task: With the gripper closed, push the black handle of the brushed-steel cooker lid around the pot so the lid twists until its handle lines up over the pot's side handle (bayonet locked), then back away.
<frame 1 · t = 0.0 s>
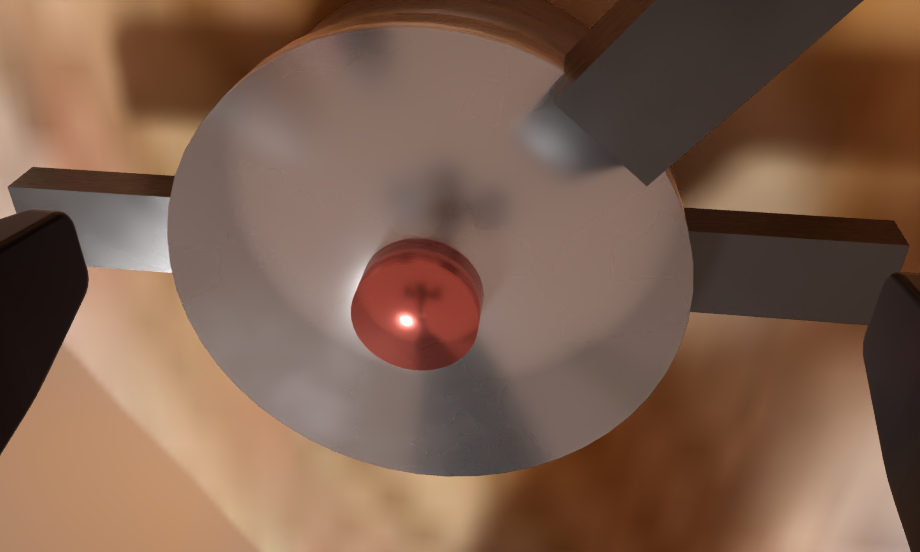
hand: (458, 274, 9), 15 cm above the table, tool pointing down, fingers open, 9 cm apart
lid: (544, 176, 18), point 6 cm above the table, hinge at 50.0°
pot: (454, 181, 25), on the table
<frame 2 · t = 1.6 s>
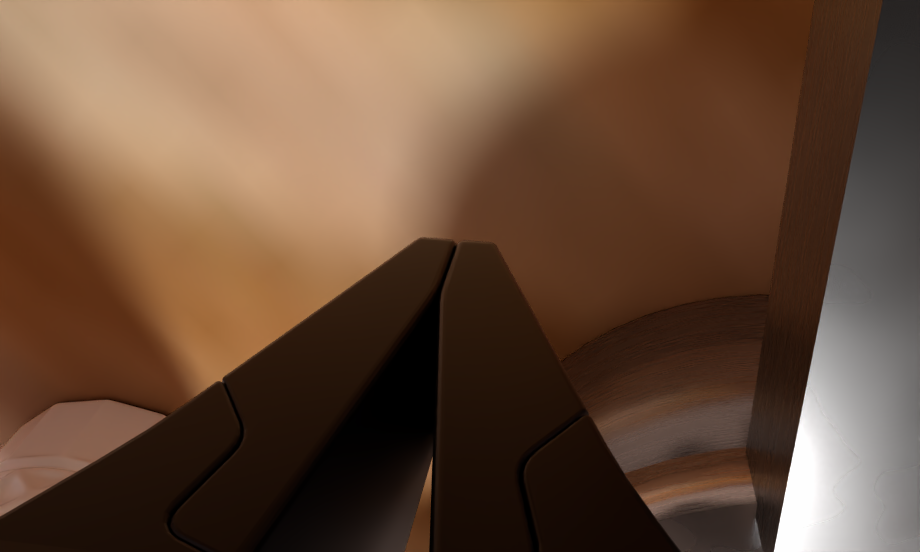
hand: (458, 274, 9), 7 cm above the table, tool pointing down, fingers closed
pot: (741, 493, 20), on the table
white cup: (137, 479, 23), on the table
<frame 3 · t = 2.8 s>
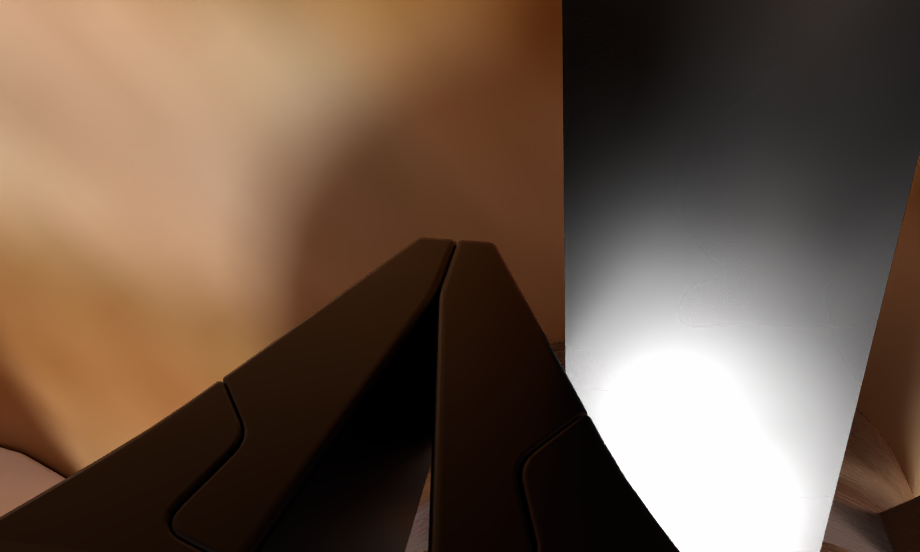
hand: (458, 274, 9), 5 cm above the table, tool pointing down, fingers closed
pot: (630, 540, 19), on the table
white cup: (7, 518, 22), on the table
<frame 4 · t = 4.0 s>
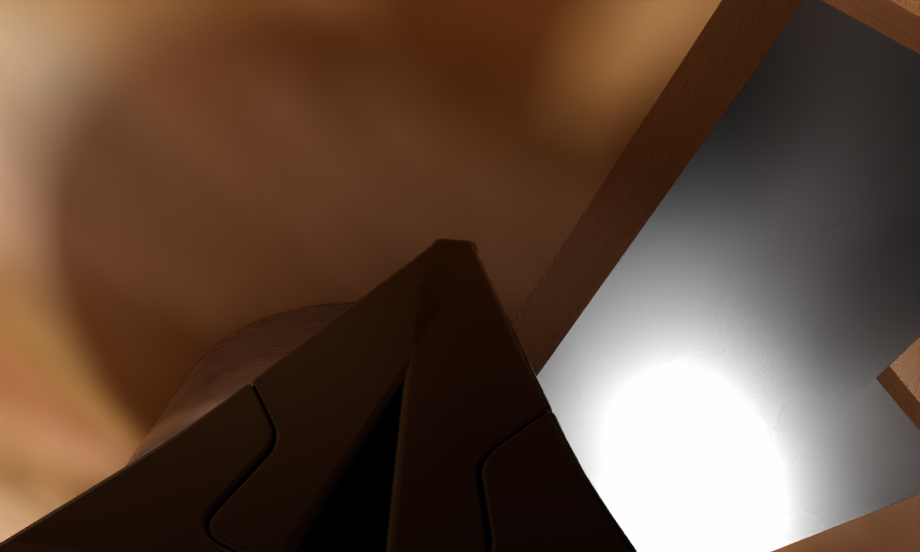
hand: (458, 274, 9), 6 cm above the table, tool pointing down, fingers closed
pot: (402, 505, 20), on the table
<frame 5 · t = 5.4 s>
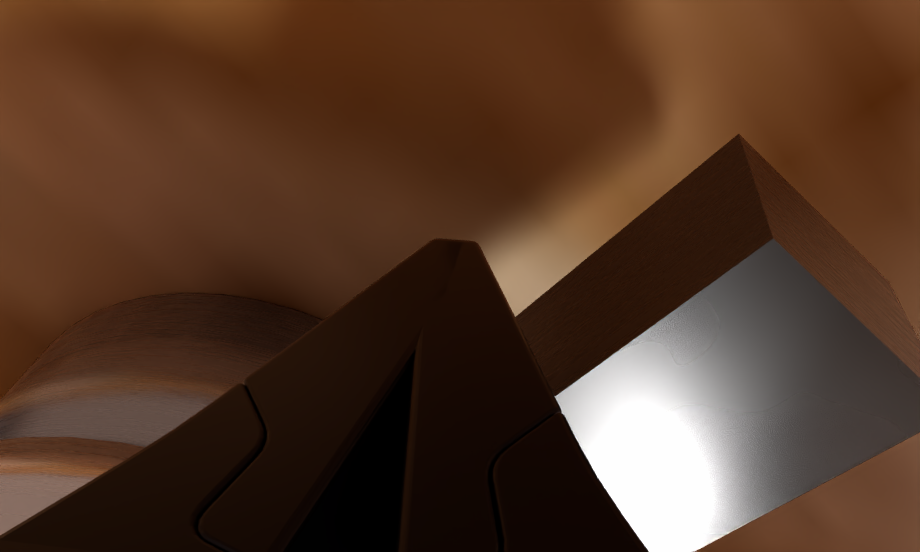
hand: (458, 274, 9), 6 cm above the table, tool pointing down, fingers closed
pot: (257, 493, 21), on the table
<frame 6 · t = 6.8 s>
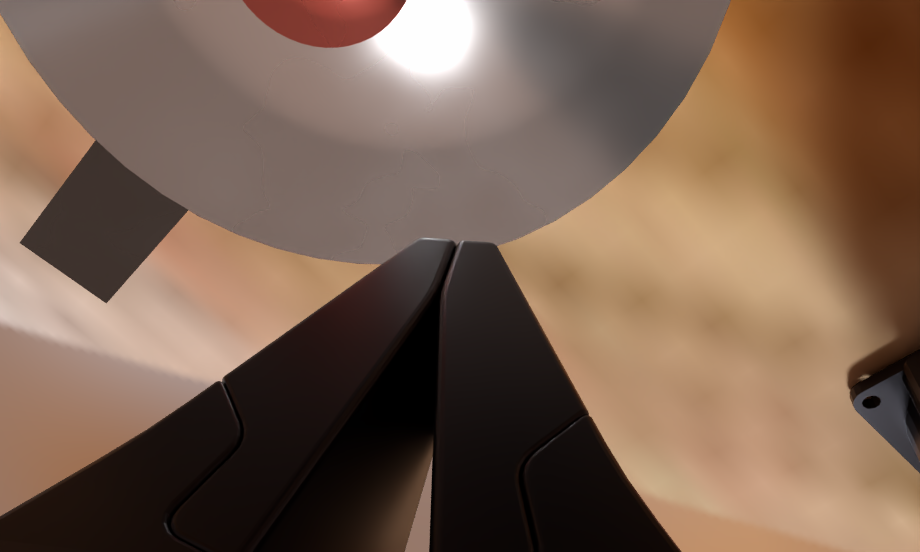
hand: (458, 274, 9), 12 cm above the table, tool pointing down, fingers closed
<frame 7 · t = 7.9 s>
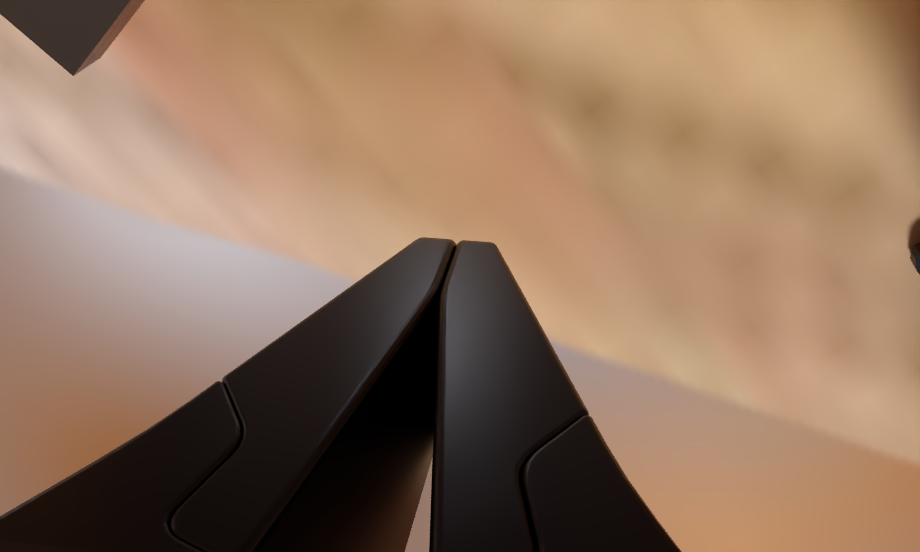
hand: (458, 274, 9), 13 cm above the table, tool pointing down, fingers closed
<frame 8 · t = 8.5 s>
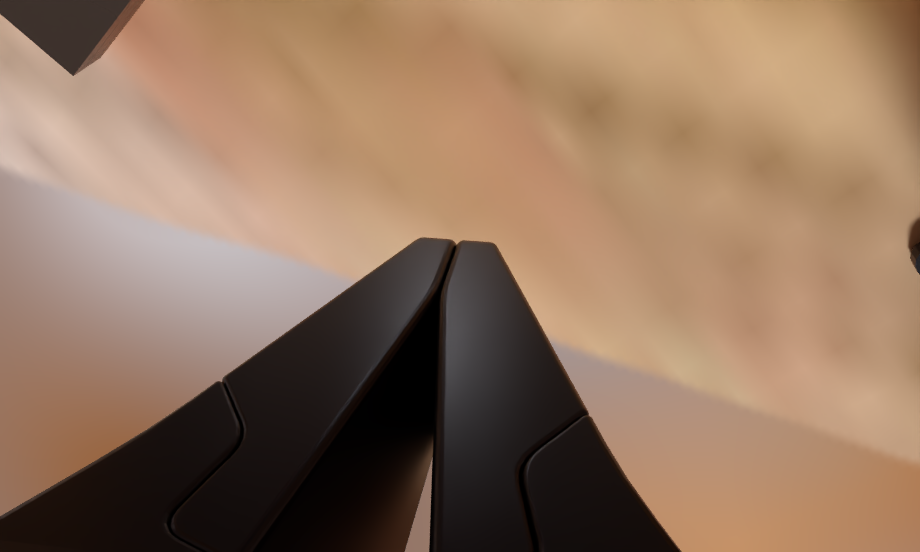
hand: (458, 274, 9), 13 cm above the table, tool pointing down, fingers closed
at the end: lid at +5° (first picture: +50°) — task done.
